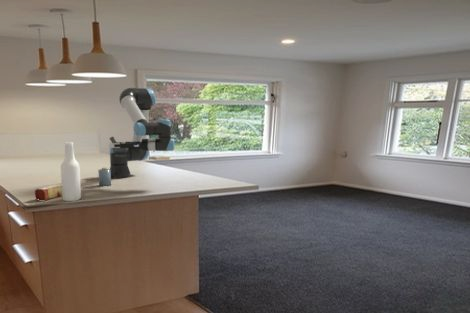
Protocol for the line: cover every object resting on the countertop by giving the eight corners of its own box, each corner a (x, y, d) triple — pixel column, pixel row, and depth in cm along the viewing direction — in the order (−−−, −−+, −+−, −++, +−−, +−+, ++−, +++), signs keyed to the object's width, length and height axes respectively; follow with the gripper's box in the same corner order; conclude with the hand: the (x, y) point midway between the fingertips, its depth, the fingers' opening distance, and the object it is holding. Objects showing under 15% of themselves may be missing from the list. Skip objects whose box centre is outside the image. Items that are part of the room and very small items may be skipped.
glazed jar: (97, 185, 210) (96, 167, 209) (108, 183, 215) (107, 166, 213) (101, 187, 205) (101, 169, 204) (112, 185, 210) (112, 168, 208)
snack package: (66, 192, 193) (65, 180, 192) (75, 192, 191) (74, 181, 190) (34, 201, 172) (33, 188, 172) (44, 202, 171) (44, 189, 170)
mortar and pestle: (130, 155, 210) (129, 136, 209) (127, 157, 201) (126, 137, 200) (112, 155, 209) (111, 136, 208) (108, 157, 200) (107, 137, 198)
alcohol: (83, 197, 180) (80, 141, 176) (78, 201, 171) (75, 143, 168) (65, 197, 178) (62, 141, 175) (60, 202, 170) (56, 143, 166)
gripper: (145, 152, 195) (106, 152, 193) (152, 149, 217) (117, 148, 215) (145, 140, 194) (105, 139, 193) (152, 137, 216) (116, 137, 215)
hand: (111, 144), depth 204 cm, fingers closed on mortar and pestle, 9 cm apart
